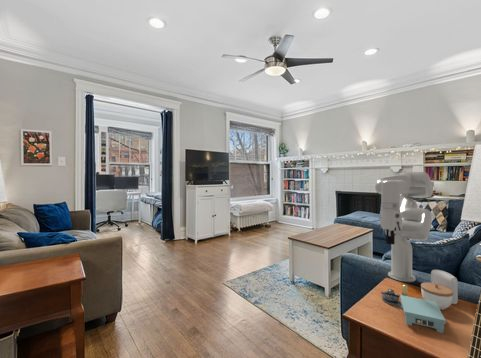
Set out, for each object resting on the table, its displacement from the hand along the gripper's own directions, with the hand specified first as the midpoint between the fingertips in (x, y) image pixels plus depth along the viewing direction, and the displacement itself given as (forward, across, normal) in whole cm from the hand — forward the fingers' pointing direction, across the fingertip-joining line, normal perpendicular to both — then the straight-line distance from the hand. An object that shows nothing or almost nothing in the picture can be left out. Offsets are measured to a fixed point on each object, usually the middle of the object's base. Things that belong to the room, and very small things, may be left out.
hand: (390, 243), depth 115 cm
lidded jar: (+23, -14, -11) cm, 29 cm away
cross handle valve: (+22, -9, +5) cm, 25 cm away
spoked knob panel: (+23, -18, +4) cm, 30 cm away
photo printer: (+23, -8, -20) cm, 32 cm away
